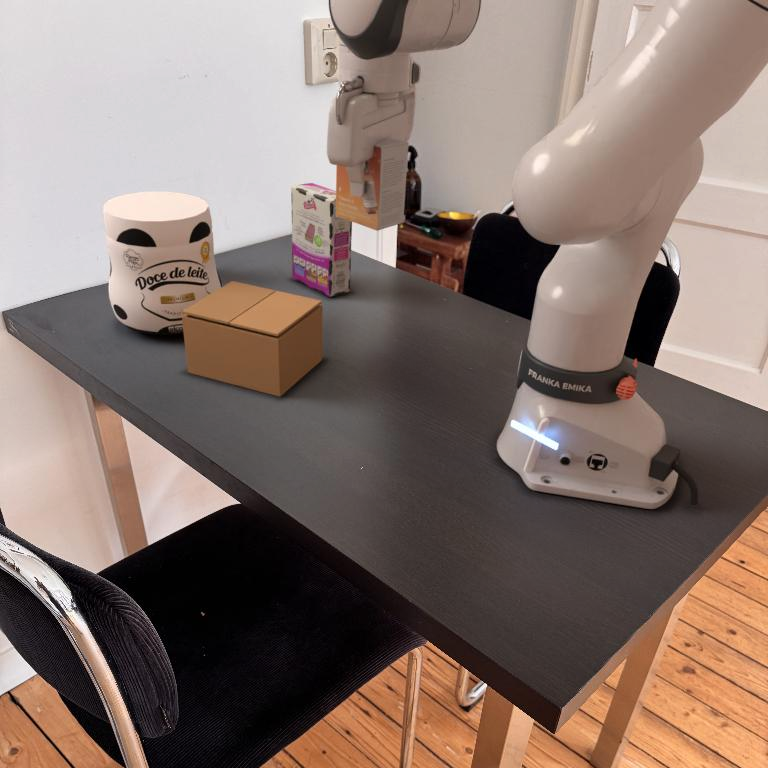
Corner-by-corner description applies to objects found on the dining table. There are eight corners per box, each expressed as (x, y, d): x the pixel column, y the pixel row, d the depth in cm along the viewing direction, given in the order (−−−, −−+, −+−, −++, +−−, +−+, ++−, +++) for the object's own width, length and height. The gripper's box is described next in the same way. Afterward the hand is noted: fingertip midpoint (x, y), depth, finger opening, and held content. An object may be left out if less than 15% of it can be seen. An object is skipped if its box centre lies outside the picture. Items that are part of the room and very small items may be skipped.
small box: (334, 218, 109) (334, 135, 103) (362, 210, 112) (363, 130, 106) (378, 231, 105) (380, 146, 99) (404, 223, 108) (409, 140, 102)
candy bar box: (352, 292, 140) (354, 196, 130) (330, 298, 137) (331, 201, 127) (312, 273, 146) (312, 180, 136) (291, 279, 143) (289, 185, 133)
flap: (322, 303, 113) (322, 300, 112) (277, 336, 103) (277, 333, 103) (276, 293, 115) (276, 290, 114) (229, 325, 105) (229, 322, 105)
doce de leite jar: (177, 354, 117) (163, 232, 106) (89, 326, 123) (68, 208, 112) (246, 315, 129) (240, 203, 118) (164, 292, 135) (151, 182, 124)
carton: (322, 359, 118) (322, 300, 112) (280, 397, 108) (278, 333, 103) (235, 338, 122) (232, 280, 117) (187, 372, 112) (181, 310, 107)
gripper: (363, 85, 89) (360, 211, 97) (426, 66, 105) (418, 175, 113) (313, 79, 91) (314, 203, 99) (382, 61, 106) (378, 169, 115)
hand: (370, 188), depth 106 cm, fingers closed on small box, 6 cm apart
